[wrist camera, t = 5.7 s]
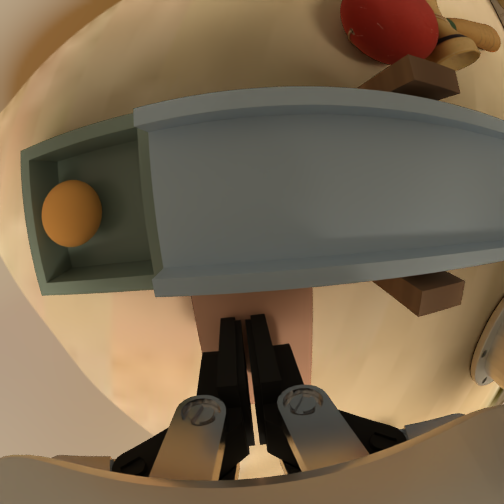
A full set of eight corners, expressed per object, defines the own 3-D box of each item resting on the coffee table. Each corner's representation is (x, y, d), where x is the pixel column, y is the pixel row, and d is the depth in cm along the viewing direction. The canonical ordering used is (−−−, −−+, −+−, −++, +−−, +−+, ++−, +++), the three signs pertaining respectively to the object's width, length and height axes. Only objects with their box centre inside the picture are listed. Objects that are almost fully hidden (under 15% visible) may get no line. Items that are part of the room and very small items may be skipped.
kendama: (446, 7, 12) (301, -13, 11) (492, -2, 7) (355, -60, 5) (473, 73, 15) (348, 88, 14) (522, 74, 10) (425, 72, 8)
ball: (105, 170, 11) (37, 182, 9) (114, 241, 12) (48, 258, 10) (91, 179, 14) (38, 189, 12) (99, 236, 15) (47, 250, 12)
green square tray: (169, 124, 13) (151, 109, 10) (184, 265, 15) (171, 288, 12) (54, 154, 13) (20, 151, 10) (70, 276, 15) (41, 295, 12)
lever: (526, 138, 8) (567, 137, 5) (509, 330, 11) (539, 354, 8) (158, 115, 9) (115, 89, 6) (200, 390, 12) (187, 445, 9)
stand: (467, 126, 14) (543, 118, 7) (470, 243, 16) (543, 271, 9) (168, 114, 13) (113, 59, 6) (185, 275, 16) (149, 352, 8)
